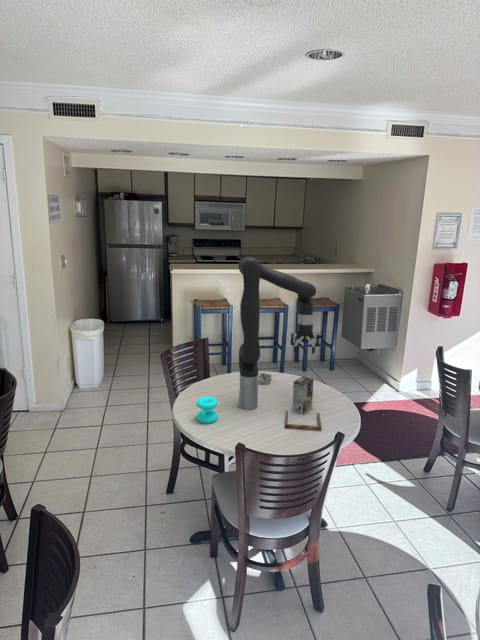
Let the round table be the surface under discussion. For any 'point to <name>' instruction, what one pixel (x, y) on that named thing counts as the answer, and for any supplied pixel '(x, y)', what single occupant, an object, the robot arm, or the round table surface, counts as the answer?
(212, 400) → the turquoise spool
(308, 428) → the open wooden frame
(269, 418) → the round table surface
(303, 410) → the coffee box
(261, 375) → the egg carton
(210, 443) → the round table surface
